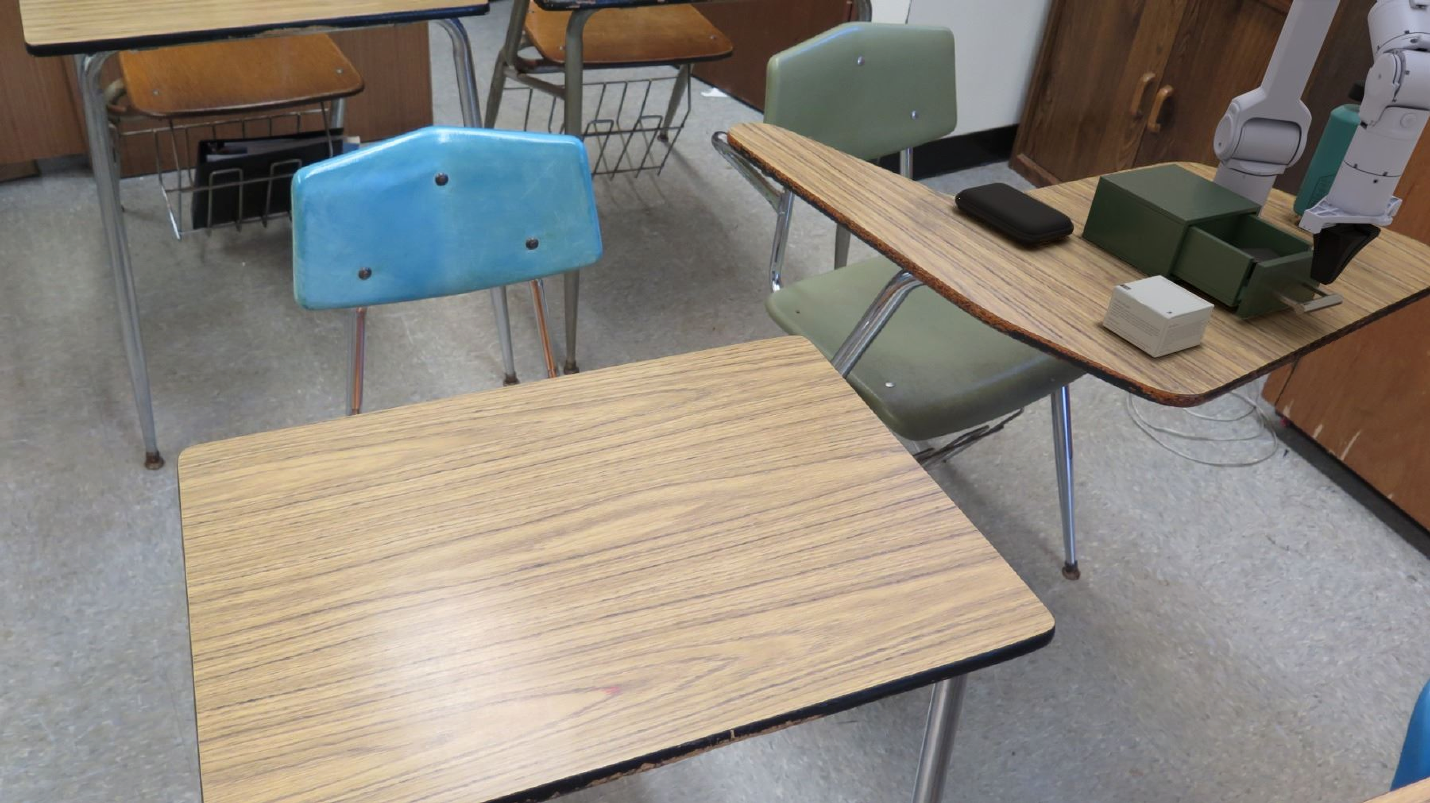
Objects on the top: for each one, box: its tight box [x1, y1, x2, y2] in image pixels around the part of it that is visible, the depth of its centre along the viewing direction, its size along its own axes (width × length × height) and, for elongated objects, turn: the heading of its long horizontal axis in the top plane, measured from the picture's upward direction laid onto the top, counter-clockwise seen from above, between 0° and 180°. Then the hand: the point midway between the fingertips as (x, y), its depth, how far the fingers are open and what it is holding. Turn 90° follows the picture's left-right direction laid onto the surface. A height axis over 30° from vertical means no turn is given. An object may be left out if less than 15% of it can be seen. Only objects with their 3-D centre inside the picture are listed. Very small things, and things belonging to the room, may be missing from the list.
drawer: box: [1171, 213, 1344, 320], centre depth 128 cm, size 18×13×7 cm
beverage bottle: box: [1292, 79, 1366, 218], centre depth 146 cm, size 6×7×20 cm
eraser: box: [1237, 248, 1281, 286], centre depth 129 cm, size 8×4×3 cm, turn 101°
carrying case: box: [954, 181, 1075, 248], centre depth 142 cm, size 11×3×15 cm
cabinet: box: [1081, 163, 1262, 283], centre depth 137 cm, size 14×14×8 cm
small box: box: [1102, 275, 1215, 358], centre depth 119 cm, size 8×8×5 cm
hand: (1320, 280), depth 121 cm, fingers closed
